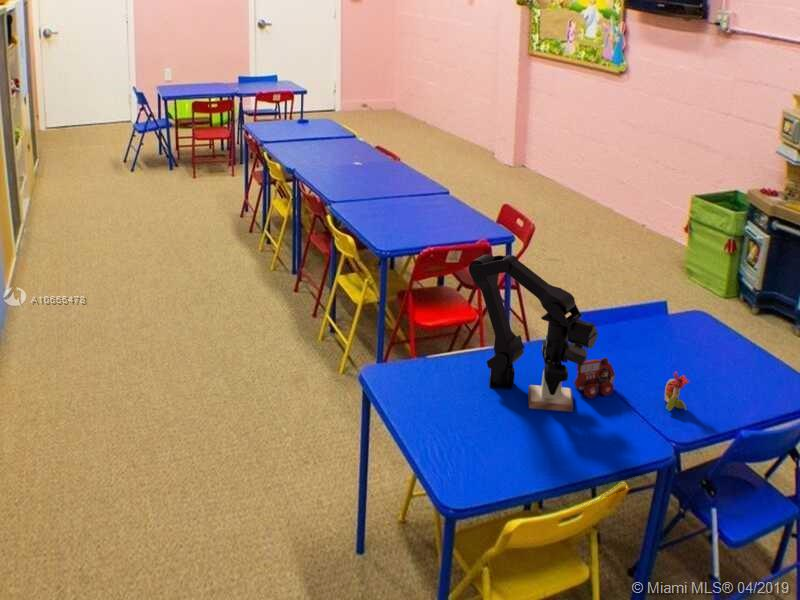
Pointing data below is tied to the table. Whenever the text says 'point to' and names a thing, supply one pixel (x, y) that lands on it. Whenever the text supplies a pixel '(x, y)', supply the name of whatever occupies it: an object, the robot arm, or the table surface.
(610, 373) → the toy fire truck
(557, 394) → the white block
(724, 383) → the table surface
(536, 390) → the plinth
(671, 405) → the bird rattle
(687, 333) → the table surface
